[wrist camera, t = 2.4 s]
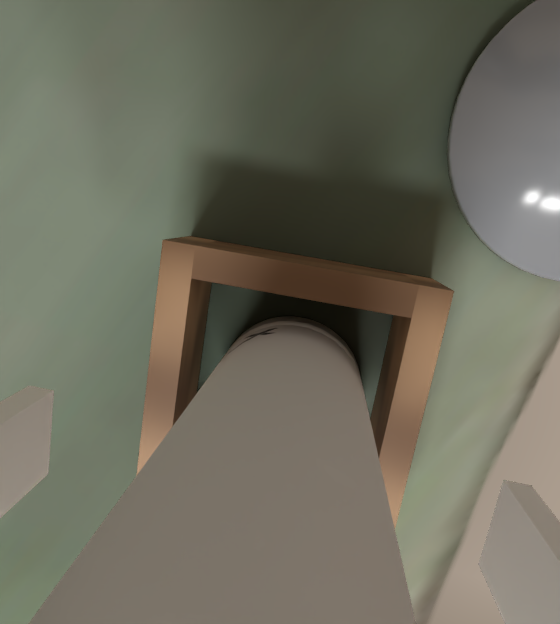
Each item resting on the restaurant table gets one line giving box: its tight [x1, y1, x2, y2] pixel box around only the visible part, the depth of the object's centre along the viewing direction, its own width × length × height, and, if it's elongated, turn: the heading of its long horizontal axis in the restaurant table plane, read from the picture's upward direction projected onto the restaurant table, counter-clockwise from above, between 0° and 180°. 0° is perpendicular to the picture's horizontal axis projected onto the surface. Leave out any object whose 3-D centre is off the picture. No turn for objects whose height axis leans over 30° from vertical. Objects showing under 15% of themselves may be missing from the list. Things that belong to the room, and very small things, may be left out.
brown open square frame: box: [137, 236, 454, 528], centre depth 19 cm, size 11×10×4 cm
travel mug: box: [29, 316, 416, 624], centre depth 11 cm, size 6×7×20 cm
